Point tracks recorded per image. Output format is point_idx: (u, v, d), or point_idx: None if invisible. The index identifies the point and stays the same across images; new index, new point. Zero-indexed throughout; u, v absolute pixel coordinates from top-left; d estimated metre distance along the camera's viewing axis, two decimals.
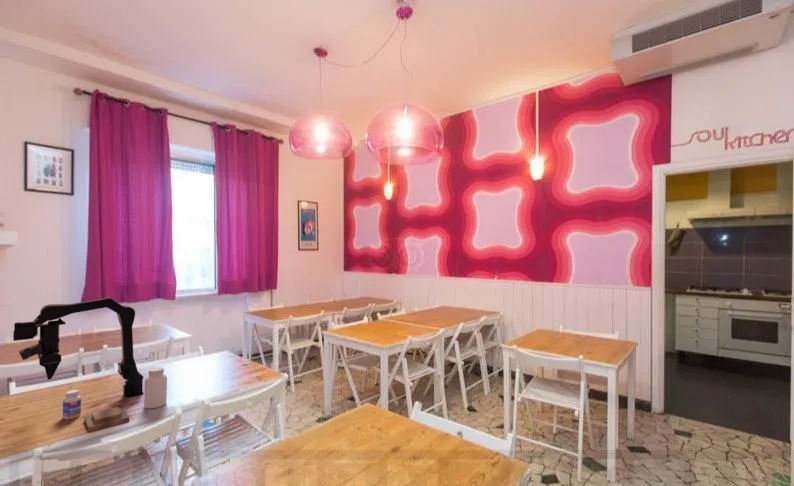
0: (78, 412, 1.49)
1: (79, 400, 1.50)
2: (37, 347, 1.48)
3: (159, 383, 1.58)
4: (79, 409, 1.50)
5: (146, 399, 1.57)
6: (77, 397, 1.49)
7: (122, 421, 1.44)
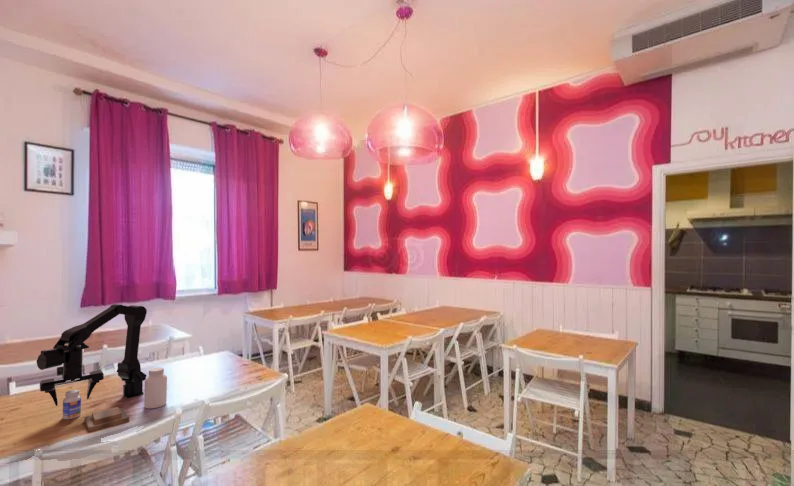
0: (78, 412, 1.49)
1: (79, 400, 1.50)
2: None
3: (159, 383, 1.58)
4: (79, 409, 1.50)
5: (146, 399, 1.57)
6: (77, 397, 1.49)
7: (122, 421, 1.44)
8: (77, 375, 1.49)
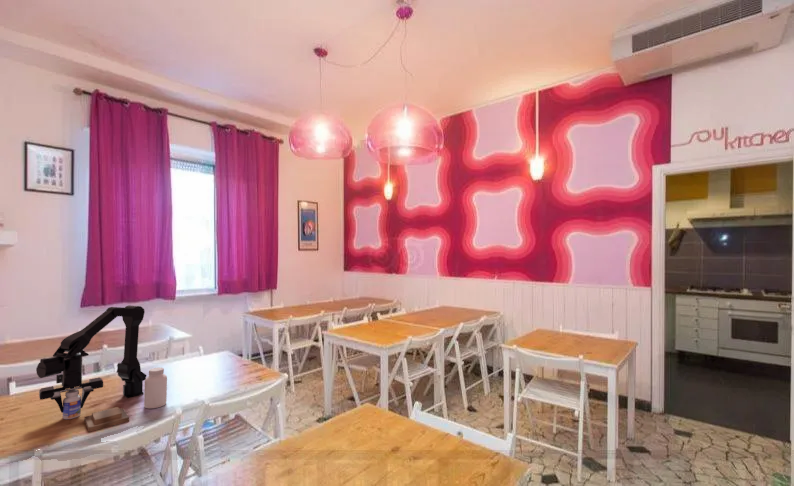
0: (78, 412, 1.49)
1: (79, 400, 1.50)
2: None
3: (159, 383, 1.58)
4: (79, 409, 1.50)
5: (146, 399, 1.57)
6: (77, 397, 1.49)
7: (122, 421, 1.44)
8: (77, 383, 1.48)
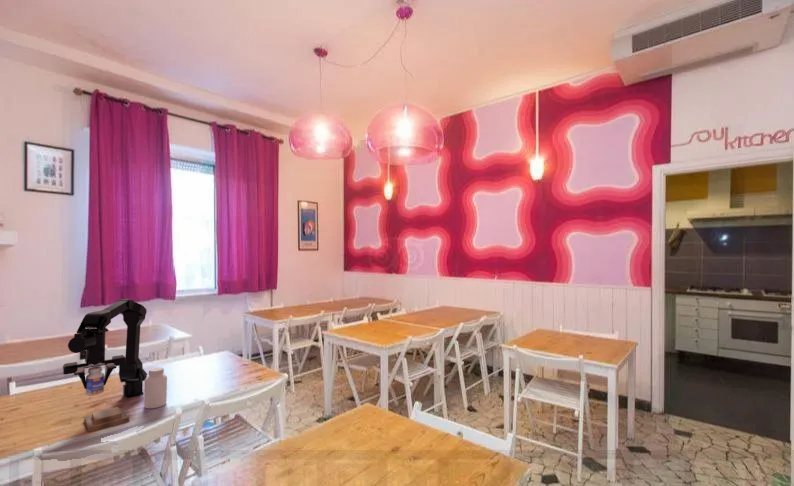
0: (101, 389, 1.47)
1: (102, 377, 1.47)
2: None
3: (159, 383, 1.58)
4: (102, 386, 1.47)
5: (146, 399, 1.57)
6: (100, 374, 1.47)
7: (122, 421, 1.44)
8: (100, 359, 1.46)
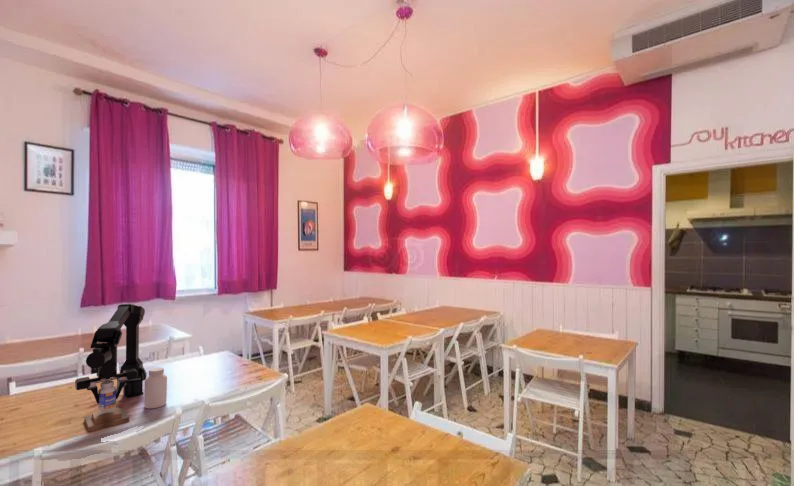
0: (114, 403, 1.46)
1: (114, 391, 1.46)
2: (98, 367, 1.47)
3: (159, 383, 1.58)
4: (114, 400, 1.46)
5: (146, 399, 1.57)
6: (112, 388, 1.46)
7: (122, 421, 1.44)
8: (112, 373, 1.45)
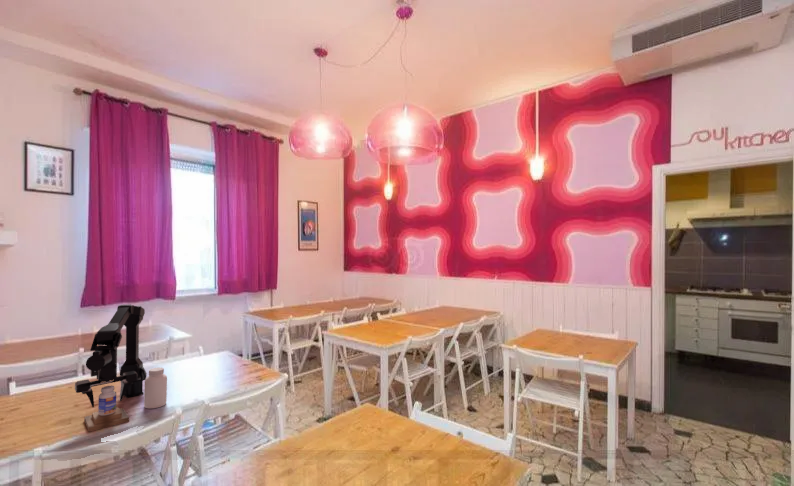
0: (114, 408, 1.46)
1: (114, 396, 1.46)
2: (98, 370, 1.47)
3: (159, 383, 1.58)
4: (115, 405, 1.46)
5: (146, 399, 1.57)
6: (113, 393, 1.46)
7: (122, 421, 1.44)
8: (112, 376, 1.45)
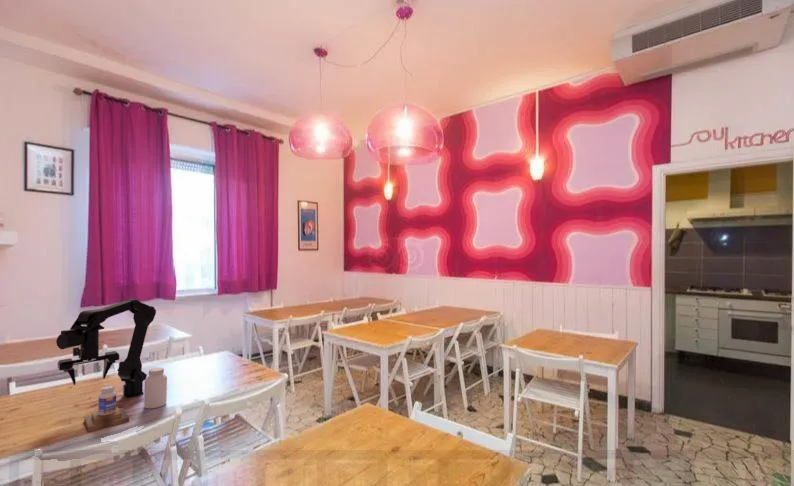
0: (114, 408, 1.46)
1: (114, 396, 1.46)
2: None
3: (159, 383, 1.58)
4: (115, 405, 1.46)
5: (146, 399, 1.57)
6: (113, 393, 1.46)
7: (122, 421, 1.44)
8: (94, 355, 1.52)
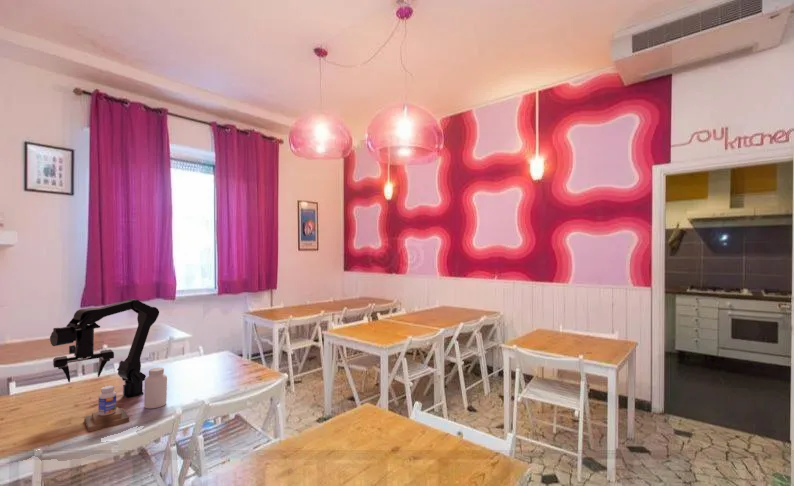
0: (114, 408, 1.46)
1: (114, 396, 1.46)
2: None
3: (159, 383, 1.58)
4: (115, 405, 1.46)
5: (146, 399, 1.57)
6: (113, 393, 1.46)
7: (122, 421, 1.44)
8: (89, 353, 1.54)
